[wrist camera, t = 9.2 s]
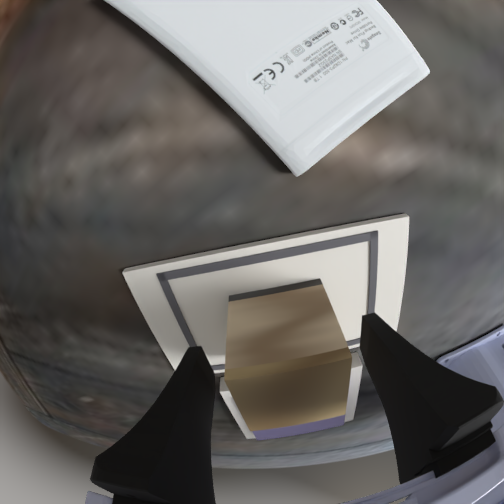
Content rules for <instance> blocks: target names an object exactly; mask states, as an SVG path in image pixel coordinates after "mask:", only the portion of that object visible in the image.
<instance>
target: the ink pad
mask: <svg viewBox="0 0 504 504" xmlns="http://www.w3.org/2000/svg"><path fill="white" fill-rule="evenodd" d="M351 355H352V365H351V375H350V384H349V392H348V399H347V406H346V413H345V415H341V416H337V417H333V418H329V419H324V420H320V421H315V422H310V423H305V424H299V425H294V426H288V427H281V428H274V429H266V430H258V431H250V430H249V428H248V427H247V425H246V423H245V421H244V419H243V417H242V415H241V413H240V411H239V409H238V407H237V405H236V403H235V401H234V399H233V397H232V395H231V393H230V391H229V389H228V387H227V385H226V383H225V381H224V377H220V394H221V395H222V397H223V399H224V401H225V403H226V404H227V406H228V408H229V410H230V411H231V413H232V415H233V417H234V418H235V420H236V422H237V423H238V425H239V427H240V428H241V430H242V432H243V433H244V435H245V437H246V438H247V439H252V438H256V439H257V440H265V439H273V438H281V437H287V436H293V435H299V434H305V433H310V432H315V431H320V430H324V429H329V428H333V427H337V426H341V425H344V422H347V421H350V420H353V418H354V413H355V408H356V403H357V398H358V392H359V386H360V380H361V373H362V366H363V365H362V363H361V360H360V358H359V355H358V353H357V352H355V353H351Z"/></svg>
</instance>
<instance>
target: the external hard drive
mask: <svg viewBox="0 0 504 504" xmlns="http://www.w3.org/2000/svg"><path fill="white" fill-rule="evenodd" d="M104 1H105V2H107V3H109V4H110V5H111V6H113V7H114V8H116V9H117V10H118V11H120V12H121V13H122V14H124V15H125V16H127V17H128V18H129V19H131V20H132V21H133V22H135V23H136V24H137V25H139V26H140V27H141V28H142V29H144V30H145V31H146V32H148V33H149V34H150V35H151V36H153V37H154V38H155V39H156V40H158V41H159V42H160V43H161V44H162V45H164V46H165V47H166V48H167V49H168V50H170V51H171V52H172V53H173V54H174V55H175V56H177V57H178V58H179V59H180V60H181V61H182V62H183V63H185V64H186V65H187V66H188V67H189V68H190V69H191V70H192V71H193V72H195V73H196V74H197V75H198V76H199V77H200V78H201V79H202V80H203V81H204V82H205V83H207V84H208V85H209V86H210V87H211V88H212V89H213V90H214V91H215V92H216V93H217V94H218V95H219V96H220V97H221V98H222V99H223V100H224V101H225V102H226V103H227V104H228V105H229V106H230V107H231V108H232V109H233V110H234V111H235V112H236V113H237V114H238V115H239V116H240V117H241V118H242V119H243V120H244V121H245V122H246V123H247V124H248V125H249V126H250V127H251V128H252V129H253V130H254V131H255V132H256V133H257V134H258V135H259V136H260V137H261V138H262V140H263V141H264V142H265V143H266V144H267V145H268V146H269V147H270V148H271V149H272V150H273V151H274V152H275V154H276V155H277V156H278V157H279V158H280V159H281V160H282V161H283V163H284V164H285V165H286V166H287V167H288V168H289V169H290V171H291V172H292V173H293V174H294V175H295V176H296V177H297V176H299V175H301V174H303V173H304V172H305V171H307V170H308V169H309V168H310V167H312V166H313V165H314V164H315V163H316V162H318V161H319V160H320V159H321V158H322V157H324V156H325V155H326V154H327V153H329V152H330V151H331V150H332V149H333V148H335V147H336V146H337V145H338V144H339V143H341V142H342V141H343V140H344V139H346V138H347V137H348V136H349V135H351V134H352V133H353V132H354V131H356V130H357V129H358V128H359V127H361V126H362V125H363V124H364V123H366V122H367V121H368V120H370V119H371V118H372V117H373V116H375V115H376V114H377V113H379V112H380V111H381V110H383V109H384V108H385V107H386V106H388V105H389V104H390V103H392V102H393V101H394V100H395V99H397V98H398V97H400V96H401V95H402V94H403V93H405V92H406V91H407V90H409V89H410V88H411V87H413V86H414V85H415V84H417V83H418V82H419V81H421V80H422V79H423V78H425V77H426V76H427V75H428V74H429V73H430V70H429V69H428V67H427V65H426V64H425V62H424V61H423V59H422V58H421V56H420V55H419V53H418V52H417V50H416V49H415V48H414V46H413V45H412V43H411V42H410V41H409V39H408V38H407V37H406V35H405V34H404V32H403V31H402V30H401V29H400V27H399V26H398V25H397V24H396V22H395V21H394V20H393V19H392V17H391V16H390V15H389V14H388V12H387V11H386V10H385V9H384V8H383V7H382V6H381V4H380V3H379V2H378V1H377V0H104Z"/></svg>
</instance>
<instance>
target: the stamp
mask: <svg viewBox="0 0 504 504" xmlns="http://www.w3.org/2000/svg"><path fill="white" fill-rule="evenodd" d="M351 365H352V355H351V353H350V350H349V347H348V345H347V342H346V340H345V337H344V335H343V332H342V330H341V327H340V325H339V322H338V320H337V317H336V315H335V312H334V310H333V308H332V305H331V303H330V300H329V298H328V296H327V293H326V291H325V289H324V286H323V284H322V282H321V279H320V278H319V279H314V280H310V281H305V282H299V283H294V284H289V285H284V286H279V287H273V288H268V289H263V290H257V291H251V292H246V293H240V294H234V295H229V301H228V318H227V336H226V355H225V375H224V381H225V383H226V385H227V387H228V389H229V391H230V393H231V395H232V397H233V399H234V401H235V403H236V405H237V407H238V409H239V411H240V413H241V415H242V417H243V419H244V421H245V423H246V425H247V427H248V428H249V430H250V431H258V430H266V429H274V428H281V427H288V426H294V425H299V424H305V423H310V422H315V421H320V420H324V419H329V418H333V417H337V416H341V415H345V413H346V406H347V399H348V392H349V384H350V375H351Z"/></svg>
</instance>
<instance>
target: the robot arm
mask: <svg viewBox="0 0 504 504" xmlns="http://www.w3.org/2000/svg"><path fill="white" fill-rule="evenodd" d="M360 349H361V352H362V356H363V359H364V362H365V365H366V367H367V370H368V372H369V374H370V376H371V379H372V381H373V383H374V385H375V387H376V390H377V392H378V394H379V397H380V399H381V401H382V404H383V406H384V409H385V412H386V416H387V419H388V423H389V427H390V431H391V435H392V439H393V444H394V449H395V454H396V459H397V466H398V473H399V481H400V484H401V485H398V486H395V487H393V488H390V489H387V490H384V491H381V492H379V493H375V494H372V495H369V496H366V497H363V498H359V499H355V500H352V501H348V502H344V503H340V504H389V503H391V502H394V501H397V500H399V499H402V498H404V497H407V496H408V497H407V498H406V500H405V501H403V502H401V503H398V504H504V325H503V326H501V327H499V328H498V329H496V330H494V331H492V332H491V333H489V334H487V335H485V336H483V337H481V338H479V339H478V340H476V341H474V342H472V343H470V344H468V345H466V346H464V347H461V348H459V349H457V350H455V351H453V352H451V353H448V354H446V355H444V356H442V357H440V358H439V359H438V360H437V361H434V360H433V359H431V358H430V357H428V356H427V355H425V354H424V353H422V352H421V351H420V350H418V349H417V348H416V347H414V346H413V345H412V344H410V343H409V342H408V341H407V340H406V339H404V338H403V337H402V336H401V335H400V334H398V333H397V332H396V331H395V330H394V329H393V328H392V327H390V326H389V325H388V324H387V323H386V322H385V321H384V320H383V319H382V318H381V317H379V316H378V315H377V314H376V313H375V312H374V313H370V314H366V315H362V323H361V336H360ZM214 398H215V373H214V371H213V369H212V367H211V365H210V363H209V361H208V359H207V357H206V355H205V353H204V350H203V348H202V346H195V347H188V349H187V350H186V352H185V354H184V356H183V358H182V359H181V361H180V363H179V365H178V367H177V368H176V370H175V372H174V373H173V375H172V377H171V378H170V380H169V382H168V383H167V385H166V387H165V388H164V390H163V391H162V393H161V394H160V395H159V397H158V398H157V400H156V401H155V403H154V404H153V405H152V407H151V408H150V409H149V410H148V412H147V413H146V414H145V415H144V416H143V417H142V419H141V420H140V421H139V422H138V423H137V424H136V425H135V426H134V427H133V428H132V429H131V430H130V431H129V432H128V433H127V434H126V435H125V436H123V437H122V438H121V439H120V440H119V441H118V442H116V443H115V444H114V445H113V446H111V447H110V448H108V449H107V450H106V451H104V452H103V453H101V454H100V455H98V456H97V457H96V459H95V462H94V466H93V470H92V474H91V478H90V480H91V481H92V483H94V484H95V485H97V486H99V487H101V488H103V489H105V490H107V491H109V492H111V493H113V494H114V496H113V498H110V497H107V496H104V495H101V494H98V493H94V492H91V491H88V492H87V497H86V502H85V504H216V503H215V497H214V489H213V479H212V466H211V427H212V418H213V408H214Z"/></svg>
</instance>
